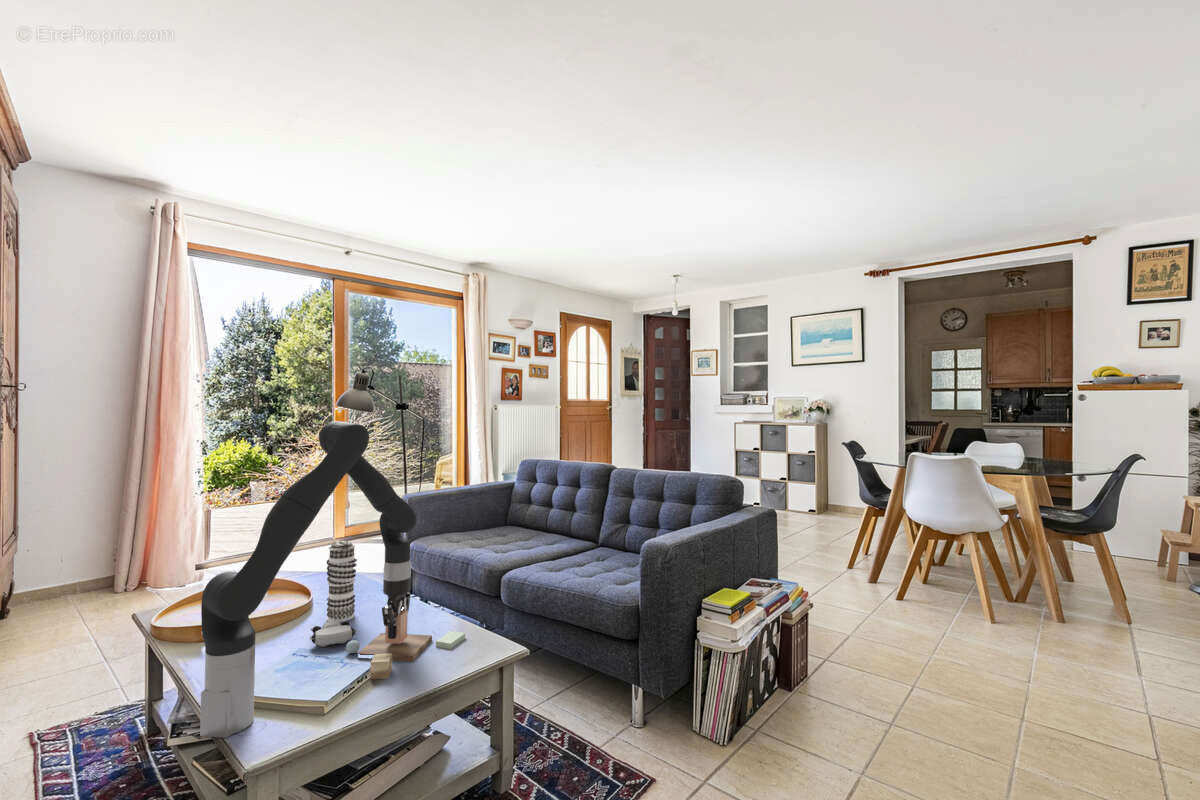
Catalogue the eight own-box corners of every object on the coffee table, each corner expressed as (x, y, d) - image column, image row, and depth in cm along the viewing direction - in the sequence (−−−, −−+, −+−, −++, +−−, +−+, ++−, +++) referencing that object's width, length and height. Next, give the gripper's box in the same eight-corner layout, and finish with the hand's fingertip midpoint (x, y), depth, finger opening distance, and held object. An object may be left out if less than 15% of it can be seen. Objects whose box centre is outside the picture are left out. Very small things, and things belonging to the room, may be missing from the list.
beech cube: (388, 678, 144) (388, 661, 145) (370, 679, 144) (370, 662, 144) (391, 670, 149) (392, 653, 149) (374, 671, 148) (374, 654, 148)
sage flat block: (450, 650, 162) (450, 643, 162) (435, 647, 164) (435, 641, 164) (465, 639, 170) (465, 633, 170) (450, 637, 171) (451, 630, 171)
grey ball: (355, 656, 156) (355, 643, 157) (343, 655, 157) (343, 643, 157) (362, 650, 160) (362, 638, 160) (350, 650, 160) (350, 637, 160)
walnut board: (412, 661, 154) (412, 656, 154) (357, 658, 155) (357, 653, 155) (431, 640, 168) (432, 635, 168) (381, 637, 169) (381, 632, 169)
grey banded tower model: (345, 623, 180) (346, 546, 180) (319, 621, 181) (320, 545, 181) (361, 613, 189) (362, 539, 189) (336, 611, 190) (338, 538, 190)
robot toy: (308, 638, 171) (310, 653, 158) (308, 623, 171) (310, 637, 158) (351, 630, 177) (357, 644, 164) (352, 616, 177) (357, 629, 164)
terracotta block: (400, 643, 159) (400, 615, 159) (385, 642, 159) (385, 614, 160) (407, 637, 163) (407, 610, 164) (392, 636, 164) (393, 609, 164)
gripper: (398, 584, 154) (397, 645, 154) (419, 569, 169) (418, 625, 168) (372, 583, 155) (371, 644, 155) (395, 568, 169) (395, 624, 169)
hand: (396, 634), depth 162 cm, fingers closed on terracotta block, 4 cm apart
